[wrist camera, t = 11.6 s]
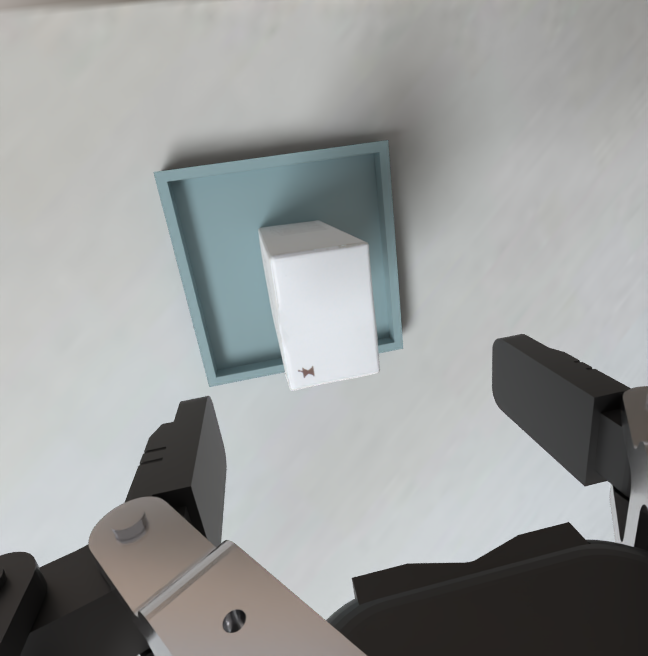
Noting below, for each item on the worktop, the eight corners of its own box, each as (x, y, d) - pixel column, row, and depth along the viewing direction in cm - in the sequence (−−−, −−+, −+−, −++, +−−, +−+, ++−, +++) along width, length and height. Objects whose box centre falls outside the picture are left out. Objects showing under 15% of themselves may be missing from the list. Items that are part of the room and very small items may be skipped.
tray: (379, 142, 27) (388, 140, 26) (395, 339, 32) (403, 348, 31) (159, 172, 26) (153, 172, 24) (211, 375, 31) (209, 387, 29)
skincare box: (331, 303, 30) (382, 378, 19) (271, 313, 29) (287, 396, 18) (320, 216, 28) (372, 240, 17) (256, 225, 27) (264, 256, 16)
